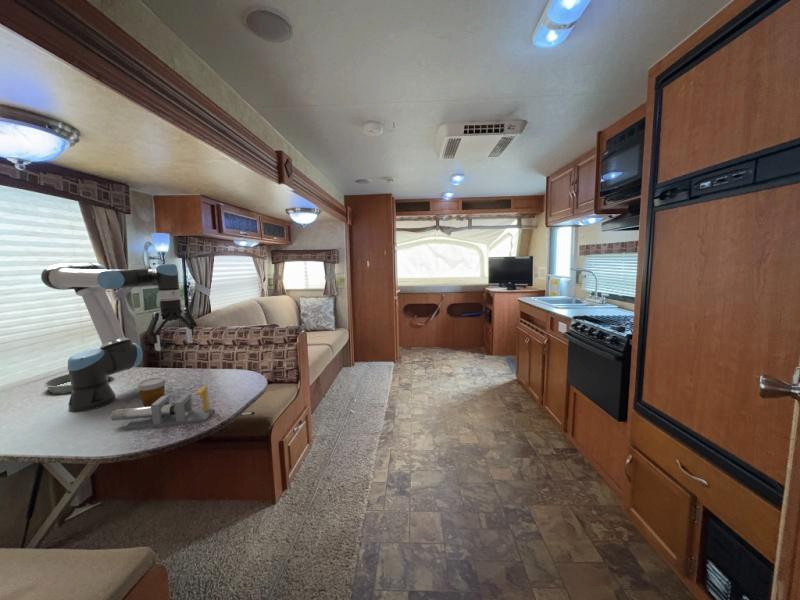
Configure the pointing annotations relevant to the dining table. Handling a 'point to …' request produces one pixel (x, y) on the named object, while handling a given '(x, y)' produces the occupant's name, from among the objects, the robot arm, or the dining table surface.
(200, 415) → the collar bench
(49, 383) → the cake pan
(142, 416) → the aluminium tube
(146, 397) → the disposable coffee cup
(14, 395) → the dining table surface
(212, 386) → the dining table surface
